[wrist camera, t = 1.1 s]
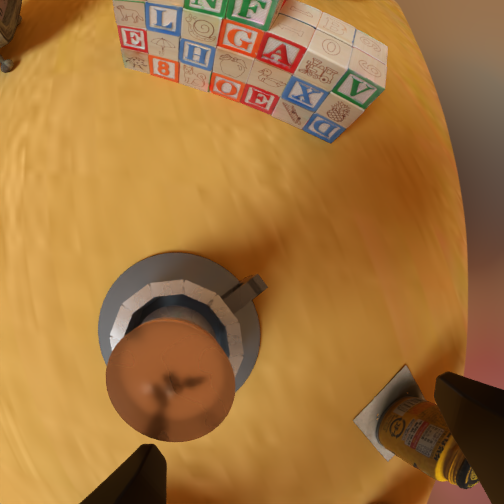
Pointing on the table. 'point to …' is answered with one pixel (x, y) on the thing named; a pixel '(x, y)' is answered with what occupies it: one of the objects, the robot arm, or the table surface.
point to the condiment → (414, 432)
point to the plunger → (171, 376)
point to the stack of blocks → (258, 56)
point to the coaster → (181, 300)
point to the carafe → (217, 305)
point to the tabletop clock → (8, 27)
